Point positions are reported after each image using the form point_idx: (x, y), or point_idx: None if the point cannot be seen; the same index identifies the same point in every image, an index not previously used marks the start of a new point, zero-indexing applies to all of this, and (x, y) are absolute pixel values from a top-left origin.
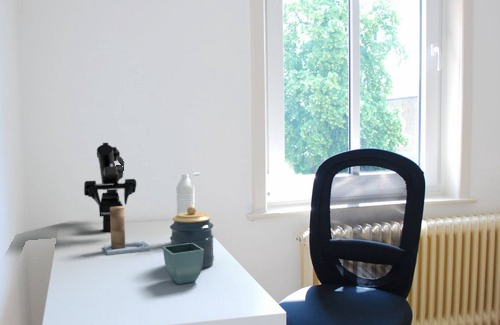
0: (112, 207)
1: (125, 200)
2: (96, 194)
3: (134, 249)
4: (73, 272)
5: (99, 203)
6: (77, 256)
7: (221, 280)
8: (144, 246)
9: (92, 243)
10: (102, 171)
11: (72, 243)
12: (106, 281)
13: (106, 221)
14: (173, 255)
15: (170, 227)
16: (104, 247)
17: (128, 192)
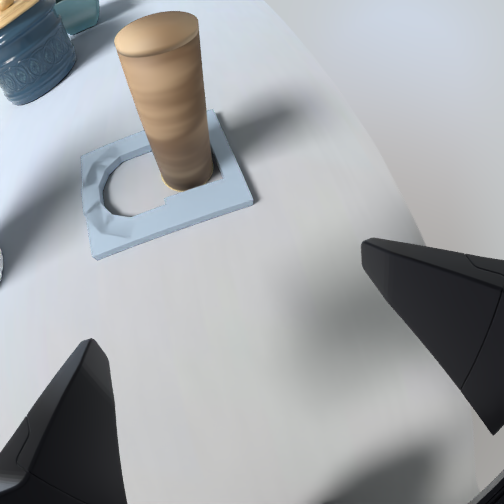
0: (183, 24)
1: (81, 356)
2: (486, 266)
3: (129, 137)
4: (259, 30)
5: (377, 238)
6: (305, 113)
7: None
8: (95, 166)
9: (326, 289)
10: None
11: None
12: (189, 9)
13: None
14: None
15: (54, 2)
16: (242, 176)
17: (7, 444)
